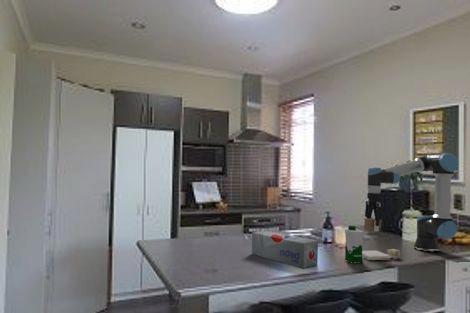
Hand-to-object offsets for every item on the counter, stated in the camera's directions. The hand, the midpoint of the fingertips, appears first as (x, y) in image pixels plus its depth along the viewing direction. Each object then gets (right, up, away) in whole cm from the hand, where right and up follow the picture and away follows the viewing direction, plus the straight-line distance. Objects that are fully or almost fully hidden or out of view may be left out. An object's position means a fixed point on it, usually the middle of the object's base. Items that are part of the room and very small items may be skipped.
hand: (372, 230), depth 220 cm
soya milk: (-16, -15, -14) cm, 27 cm away
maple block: (+11, -16, -4) cm, 20 cm away
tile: (-1, -16, -4) cm, 16 cm away
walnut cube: (0, 0, 0) cm, 0 cm away
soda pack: (-57, -15, -13) cm, 60 cm away
